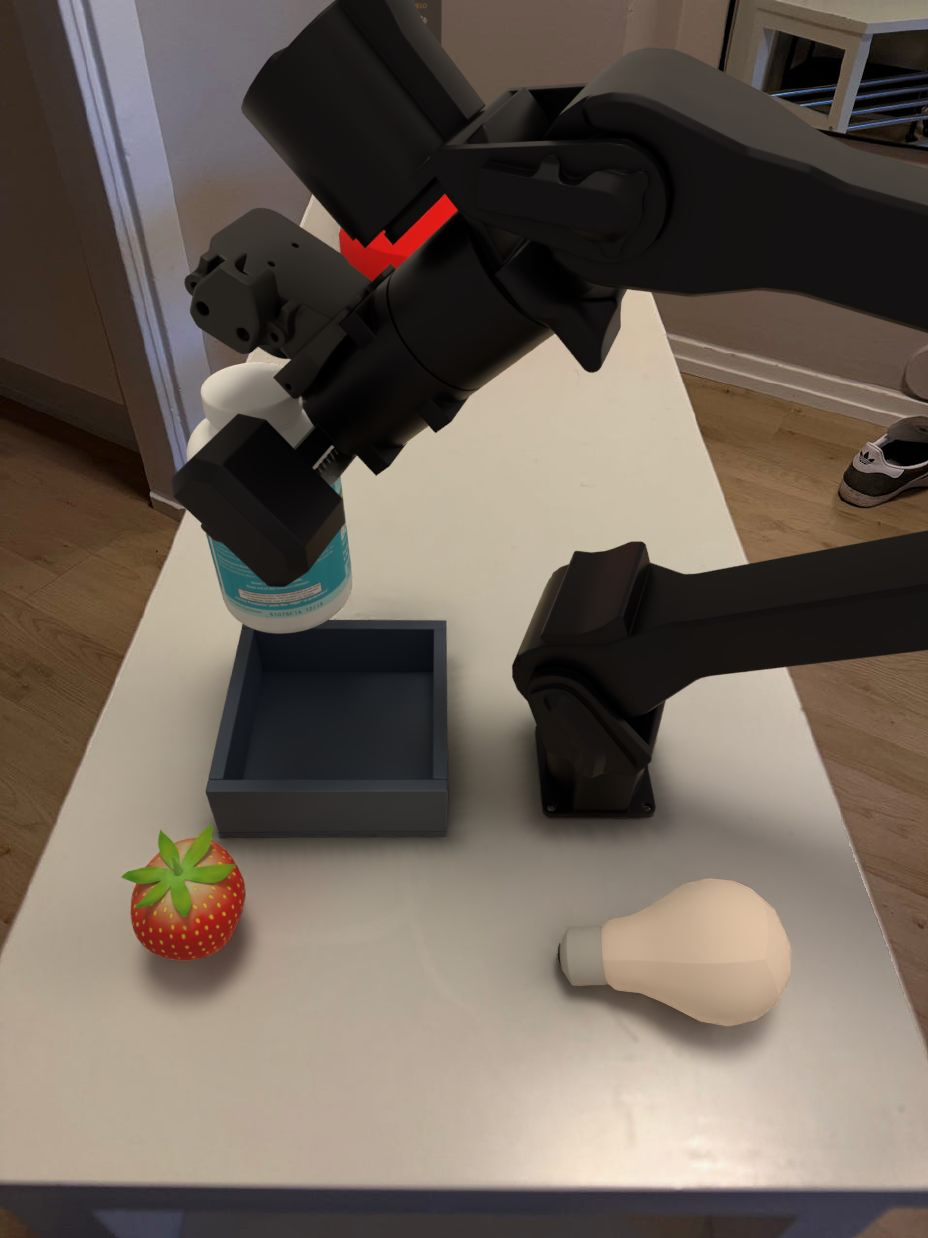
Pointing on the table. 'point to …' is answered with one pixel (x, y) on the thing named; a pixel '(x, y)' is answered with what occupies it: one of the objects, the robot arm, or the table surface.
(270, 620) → the pill bottle
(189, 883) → the fruit
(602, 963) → the light bulb
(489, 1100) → the table surface
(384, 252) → the vase
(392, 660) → the bin
